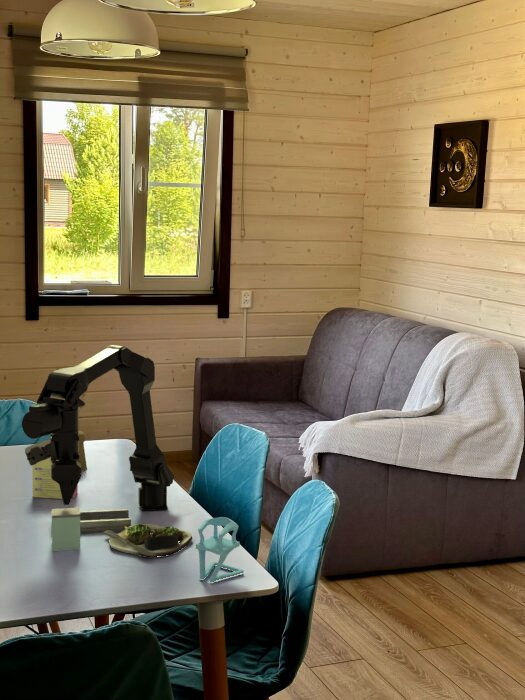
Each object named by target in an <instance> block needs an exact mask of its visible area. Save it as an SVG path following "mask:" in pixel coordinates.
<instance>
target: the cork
mask: <svg viewBox="0 0 525 700" xmlns="http://www.w3.org/2000/svg"><path fill="white" fill-rule="evenodd" d="M85 440H86V434H85V432H83V431H81V430H79V463H80V464H81V472H84V471H87V470H88V467H87V459H86V453H85V452H86V451H85V444H84V443H85Z"/></svg>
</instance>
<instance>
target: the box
mask: <svg viewBox="0 0 525 700" xmlns="http://www.w3.org/2000/svg"><path fill="white" fill-rule="evenodd" d="M52 464H53V463H52V461H51V457H50V458H48V459H45V460H43V461H40V462H38V463H37V464H35V465H31V468H32V469H31V470H32V475H31V476H32V477H31V478H32V498H44V499H57V500H58V499H59V500H63V499H62V495H61V490H60V486H59V484H58V483H57V482H56V481H53V480H52V478H51V465H52ZM78 487H79V486H78V485H77V487H76V489H75V492H74V494H73V497H72V499H71V500H73V499H74V498H75V496H77V495H78V494H79V493H78V489H79V488H78Z"/></svg>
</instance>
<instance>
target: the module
mask: <svg viewBox="0 0 525 700" xmlns="http://www.w3.org/2000/svg"><path fill="white" fill-rule="evenodd" d="M80 511H81V510H80V507H68V508H67V507H66V508H63V507H62V508H52V509H51V544H52V545H51V547H52V548H51V549H52V551H53V552H54V551H55V552H56V551H70V550H71V551H72V550H73V551H74V549H75V550H81V534H80Z"/></svg>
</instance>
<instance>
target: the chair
mask: <svg viewBox="0 0 525 700" xmlns="http://www.w3.org/2000/svg"><path fill="white" fill-rule="evenodd" d="M209 525H210V526H213V535H212V536H211V537H209V538H207V539H205V536H204V534H203V532H204V530H205V529H206V528H207V527H208V526H209ZM218 527H223V529H222V530H221V531H220V532H219V531H218ZM238 530H239V525H238V524H237V523H236V522H235V521H234V520H232V519H230V518H229V517H225V516H220V517H219V516H218V517H213V518H212V517H211V518H208V519H206V520H204V521H203V522H202V524H201V525H200V526H199V527H198V529H197V532H198V534H199V538H200V540H199V542H198V543H195V549H197V551H198V559H199V578H200V579H204V578H205V577H207V575H208V574H209V573H210V572H211V570H212V569H213V567H214V566H215V565H217V566H216V567H214V569H213V570H212V572H211V573H210V574H211V575H210V574H209V575H210V578H209V581H210V582H214V581H216V580H219V579H223V578H226V577H230V576H234V575H237V574H240V573H243V572H245V571H244V569H241V568H238V567H235V566H230V565H228V564H224V562H225V560H226V558H227V557H228V556H229V554H230V553H231V552H232V551H233V550H234V549H236V548H238V547H240V546H241V543H240V541H237V539H236V535H237V532H238ZM231 531H233V532H232V534H231V539H229V538H224V537H225V536H226V534H228V533H230V532H231ZM206 552H210V553H213V554H215V555H218V556H219V559H218V562H216V561H213V562H211V563H210V564H209V565H208V567H206ZM221 567H223V568H227V569H230V570H233V571H235V572H231V571H230V572H227V573H224V574H220V575H218V573H219V572H220V570H221ZM207 578H208V577H207Z"/></svg>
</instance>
